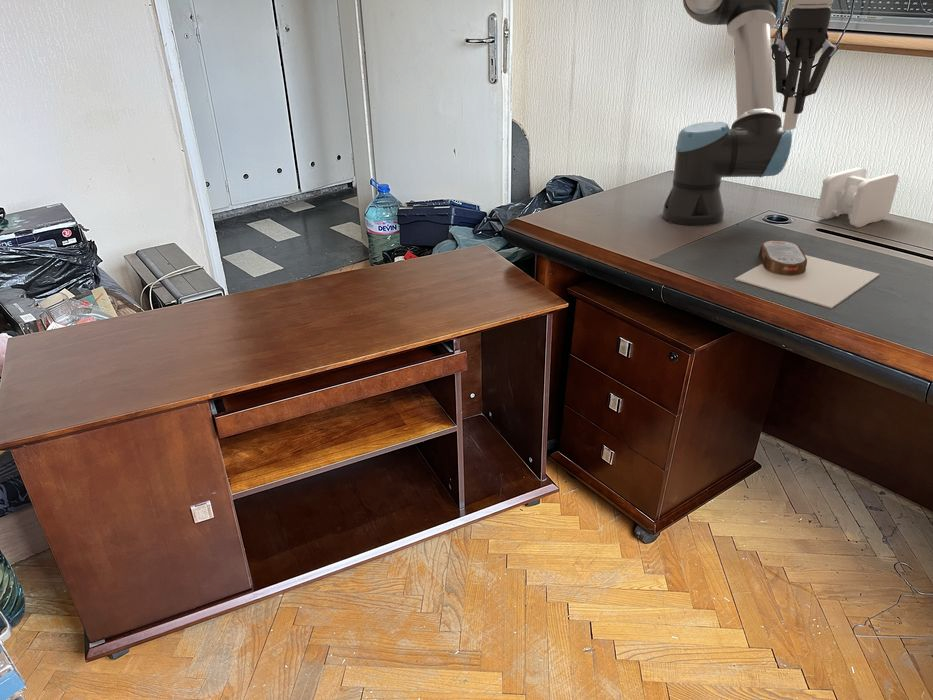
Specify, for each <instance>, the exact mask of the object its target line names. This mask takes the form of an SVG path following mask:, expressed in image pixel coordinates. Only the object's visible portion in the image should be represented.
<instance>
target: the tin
mask: <svg viewBox="0 0 933 700" xmlns="http://www.w3.org/2000/svg"><path fill="white" fill-rule="evenodd" d="M805 255H806V254H805V253H804V251H803V250H802V248H801V246H800V245H799V244H797V243H796V242H793V241H789V240H770V239H769V240H766V241H763V242H761V245H760V249H759V253H758V256H759V259H760V261H761V264H762V263H763V266H764V268H765V269H766V270H768V271H769V272H772V273H775V274H780V275H790V276H792V275H800V274H803V273H804V272H805V271H806V265H807V258H806V256H805Z"/></svg>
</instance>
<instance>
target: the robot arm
mask: <svg viewBox="0 0 933 700" xmlns="http://www.w3.org/2000/svg"><path fill="white" fill-rule="evenodd" d="M682 3H683V8H684V10H685V12H686V13H687V14H688V15H689V17H690V18H692V19H693V20H694V21H696V22H697V23H698V22H699V23H701V24H704V25H708V26H714V25H715V26H725V25H726V29H727V30H726V32H727V34H728V36H730V37H732V38H733V45H734V46H733V51H734V70H735V71H734V73H735V74H734V75H735V93H736V94H735V98H736V100H735V101H736V118H737V119H735V120H734V121H733V123H732V124H731V127H729V124H728V123H727V122H723V121H705V122H698V123H697V122H696V123H693V124H690V125H687V126H685V127H684V128H682V129H681V130H680V131H679V133H678V135H677V136H678V137H677V141H676V146H675V159H674V167H673V168H674V170H673V178H672V186H671V189H670V191H669V193H668V195H667V198H666V200H665V203H664V205H663V208H662V218H664V219H665V220H666V221H668V222H670V223H674V224H678V225H683V226H691V227H693V226H695V227H697V226H710V225H715V224H718V223H720V222H721V221H723V218H724V212H725V210H724V209H725V208H724V204H723V203H724V202H723V199H722V193H721V181H722V178H751V177H752V178H754V177H755V178H763V177H774V176H777V175H779V174H780V173H781V172H782V171H783V170H784V168H785V166H786V164H787V162H788V159H789V156H790V152H791V147H792V143H793V142H792V141H793V134H792V130H794V129H796V127H797V122H798V116H799V114H802V113H803V111H804V106H805V102H806V98H807V97H808V96H812V95H815V94H816V93H817V91H818V89H819V86H820V84H821V82H822V79H823V77H824V75H825V72H826V71H827V69H828V66H829V64H830V60H831V59H832V57H833V56H834V55H835V54H836V53H837V51H838V50H839V46H838V45H837V44H833V43H831V42H830V40H829V33H828V29H829V25H830V21H831V16H832V12H833V11H832V9H833V8H832V7H831V6H830V5H832V4H833V3H834V0H791V5H793V7H792V8H791V9H790V10H789V15H788V21H787V31H786V33H785V34H784V37H783V39H781V40H780V41H778V42H777V43H773V44H771V43H772V42H771V30H770V28H772V27H773V28H774V27H775V26H776V25H775V24H776V23H777V22H778V21H779V19H780V18H781V15H782V13H783V9H784V0H682ZM773 28H772V29H773ZM786 50H787V51H788V53H789V56H788V62H789V63H788V68H787V53H786ZM819 51H821V53H822V54H821V55H820V57H819V59H818V61H817V64H816V66H815V68H814V70H813V64H814V62H815V59H816V55H817V54H818V53H819ZM772 53H773V56H774V70H775V71H774V72H775V73H774V74H775V92H776V93H777V94H781V95H783V103H782V109H781V110H782V113H784V120H783V122H782V117H781V116H780V115H779V114H777V113H776V112H775V104H774V103H775V102H774V85H773V84H774V82H773V64H772ZM812 70H813V73H812ZM782 123H783V126H782Z"/></svg>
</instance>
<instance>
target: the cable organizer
mask: <svg viewBox="0 0 933 700" xmlns="http://www.w3.org/2000/svg"><path fill="white" fill-rule="evenodd" d="M867 173H868V172H867V169H866V168H863V167H853V168H849V169H845V170H842V171H837V172H835V173H830V174H829V175H827V176H826V177H825V178H824V179H822V186H821V191H820V192H821V193H820V197H819V200H818V205H817V210H816V216H817V217H819V218H822V219H824V220H829V218H830V219H832V218H835V217H837V218H840V217H839V216H840V215H846V214H847V215H848V217H847V220H848V221H849V224H850V225H851V226H853V227H855V228H857V229H858V227H859V228H861V227H864V226H866V225H867V224H871V223H876V222H880V221H882V220H884V219H885V218H886V217H887V216H889V214H890V212H891V210H892V206H893V202H894V199H895V198H894V197H895V195H896V194H895V193H896V190H897V186H898V183H899V180H900V177H899V175H898V174H897V173H891V172H890V173H886V174H883V175H879V176H876V177H872V178H867Z"/></svg>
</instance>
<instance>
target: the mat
mask: <svg viewBox="0 0 933 700" xmlns="http://www.w3.org/2000/svg"><path fill="white" fill-rule="evenodd" d="M804 255H805V256H806V258H807V265H806V271H805V272H804V273H803V274H800V275H792V276H790V275H780V274H775V273H772V272H769V271H768V270H766V269H765V268H764V266H763V263H762V262H761V263H760V264H759V265H757V266H755V267H753V268H752V269H749V270H748V271H746V272H744V273H742V274H740V275H738V276H737V277H735V278H734V281H738V282H742V283H745V284H748V285H751V286H753V287H759V288H761V289H763V290H768V291H771V292H773V293H774V292H775V293H779V294H782V295H784V296H787V297H791V298H795V299H798V300H801V301H805V302H807V303H811V304H815V305H818V306H821V307H824V308H828V309H833V308H835V307H836V306H837V305H839V304H840V303H842V302H844V301H845V300H846V299H847V298H849V297H850V296H852V295H853V294H855V293H856V292H857V291H859V290H860V289H862V288H864V287H865V286H866V285H868V284H869V283H871V282H872V281H874V280H875V279H876V278H878V277H880V273H878V272H874V271H870V270H865V269H860V268H859V267H854V266H850V265H845V264H842V263H838V262H836V261H835V262H834V261H830V260H826V259H822V258H819V257H815V256H811V255H807V254H804Z"/></svg>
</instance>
